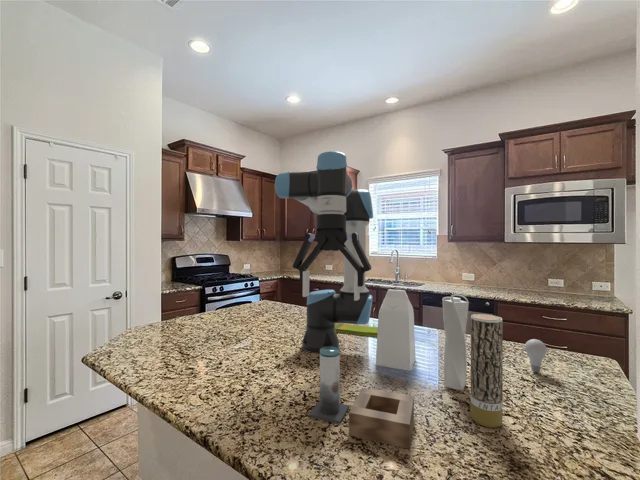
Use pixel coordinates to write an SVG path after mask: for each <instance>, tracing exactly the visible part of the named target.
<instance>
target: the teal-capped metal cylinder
mask: <svg viewBox="0 0 640 480" xmlns="http://www.w3.org/2000/svg"><path fill="white" fill-rule="evenodd" d="M340 350H341V349H340V347H339V348H336V347H323V348H321V349H320V353H319V401H320V412H321V413H323V414H326V415H334V414H337V413H338V412H339V411H340V400H341V399H340V398H341V397H340V393H341V392H340V391H341V389H340V388H341V386H340V382H341V381H340V379H341V377H340V375H341V373H340V369H341V367H340V364H341V363H340V359H341V358H340V357H341V356H340V355H341V351H340Z"/></svg>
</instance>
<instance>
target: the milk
mask: <svg viewBox="0 0 640 480" xmlns="http://www.w3.org/2000/svg"><path fill="white" fill-rule="evenodd" d="M377 317H378V318H377V327H378V333H377V338H376V349H375V350H376V351H375V352H376V355H375V366H381V367H387V368H392V369H397V370H403V371H404V370H405V371H408V372H409V371H410V372H411V371H412V368H413V366H414V365H415V362H416V361H417V359H416V357H417V356H416V337H415V336H416V334H415V312H414V307H413V305H412V303H411V301H410V299H409V296H408V294H407V292H406V290H403V289H387V292H386V293H385V297H384V298H383V301H382V303H381V306H380V308H379V312H378V316H377Z"/></svg>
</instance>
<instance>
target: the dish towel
mask: <svg viewBox="0 0 640 480" xmlns="http://www.w3.org/2000/svg"><path fill="white" fill-rule="evenodd" d="M335 331H336V334H338V333H339V334H343V335H345V334H346V335H351V334H352V336H358V337H359V336H361V337H369V338H376V339H377V333H378V326H368V325H360V324H358V325H356V324H347V323H335Z"/></svg>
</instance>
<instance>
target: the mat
mask: <svg viewBox="0 0 640 480" xmlns="http://www.w3.org/2000/svg"><path fill="white" fill-rule="evenodd" d="M349 408H350V404H346V403H345V404H344V403H340V411H339V412H338V413H337V414H334V415H326V414H323V413H321V412H320V400H318V402H317V403H316V404H315V406H314V407H313V408H312V410H311V411H310V413H309V414H308V417H309V418H312V419H316V420H322V421H326V422H328V423H335V424H340V425H341V423H342V421H343V420H344V418H345V417H346V414H347V413H348V412H349V411H348V410H349Z"/></svg>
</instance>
